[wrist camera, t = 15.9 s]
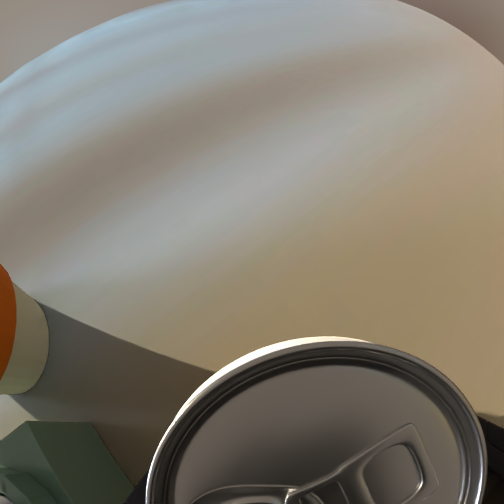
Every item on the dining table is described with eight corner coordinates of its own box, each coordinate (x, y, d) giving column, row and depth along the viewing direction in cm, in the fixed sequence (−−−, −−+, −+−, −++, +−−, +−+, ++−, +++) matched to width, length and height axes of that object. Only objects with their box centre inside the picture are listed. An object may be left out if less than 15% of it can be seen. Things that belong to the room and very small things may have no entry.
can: (212, 403, 15) (72, 391, 5) (329, 355, 16) (420, 251, 5) (259, 510, 12) (215, 662, 2) (377, 461, 13) (529, 527, 2)
